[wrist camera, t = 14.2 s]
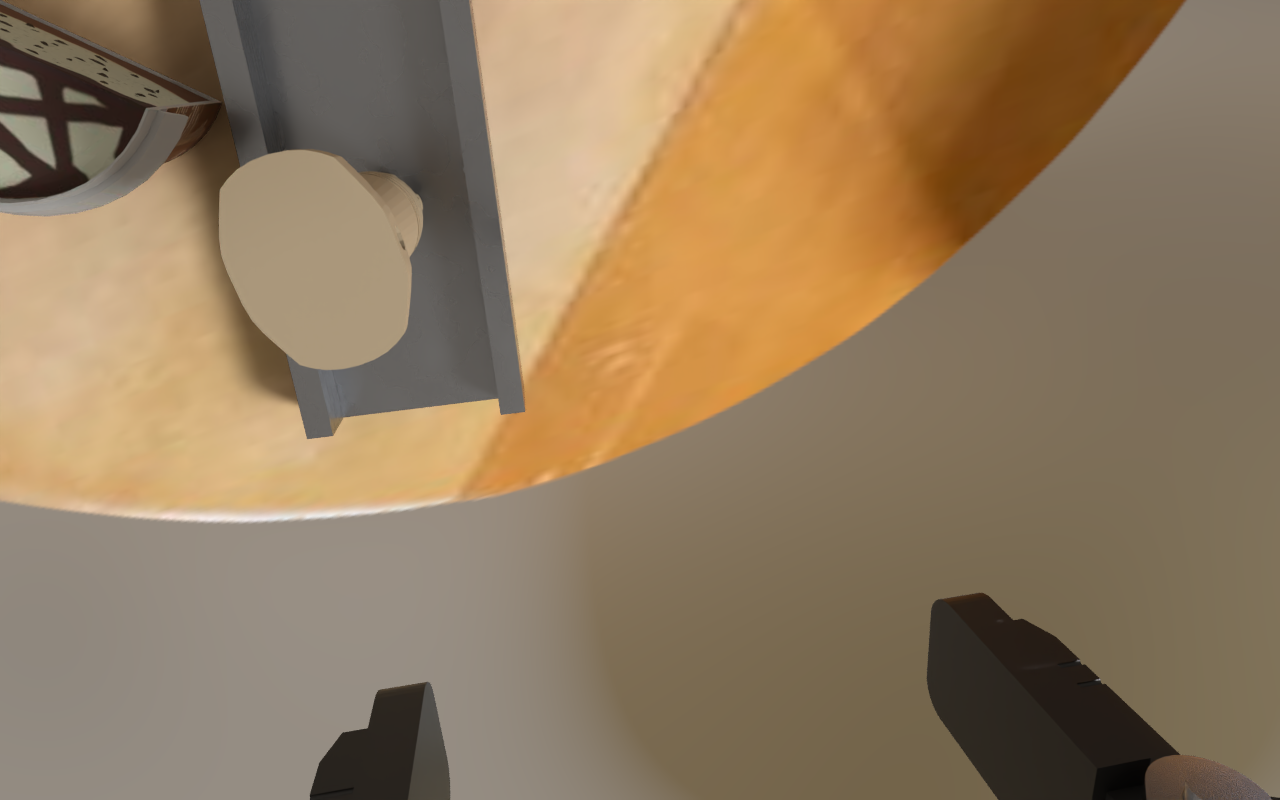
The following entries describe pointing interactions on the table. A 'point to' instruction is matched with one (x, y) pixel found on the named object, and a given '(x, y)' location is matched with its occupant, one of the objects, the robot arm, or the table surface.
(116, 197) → the food container
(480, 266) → the track
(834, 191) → the table surface
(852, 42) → the table surface
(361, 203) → the handle
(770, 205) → the table surface
